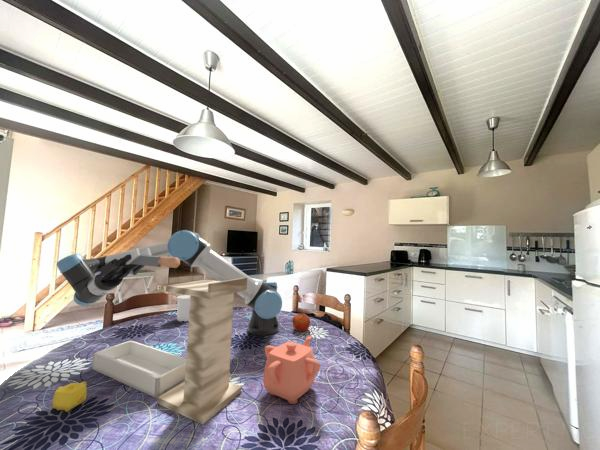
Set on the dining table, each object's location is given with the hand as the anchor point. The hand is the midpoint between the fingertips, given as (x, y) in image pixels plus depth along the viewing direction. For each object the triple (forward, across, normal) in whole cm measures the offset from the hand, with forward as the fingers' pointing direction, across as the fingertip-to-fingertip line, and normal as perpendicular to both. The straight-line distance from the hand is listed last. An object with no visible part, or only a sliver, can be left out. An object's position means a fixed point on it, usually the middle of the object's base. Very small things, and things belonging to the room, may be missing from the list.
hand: (143, 251), depth 81 cm
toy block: (-16, +17, -35) cm, 42 cm away
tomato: (+9, -61, -49) cm, 79 cm away
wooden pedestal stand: (+7, 0, -48) cm, 48 cm away
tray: (-16, 0, -35) cm, 38 cm away
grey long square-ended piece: (+2, 0, -6) cm, 6 cm away
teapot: (+24, -15, -58) cm, 64 cm away
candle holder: (-44, -44, -19) cm, 65 cm away
